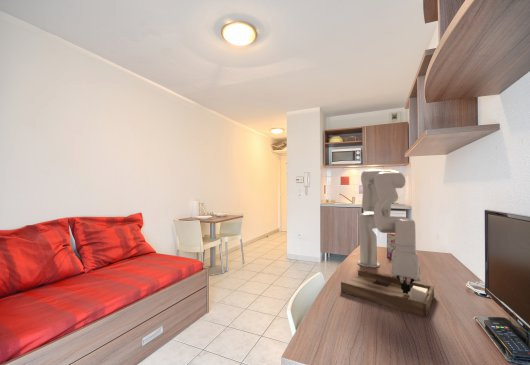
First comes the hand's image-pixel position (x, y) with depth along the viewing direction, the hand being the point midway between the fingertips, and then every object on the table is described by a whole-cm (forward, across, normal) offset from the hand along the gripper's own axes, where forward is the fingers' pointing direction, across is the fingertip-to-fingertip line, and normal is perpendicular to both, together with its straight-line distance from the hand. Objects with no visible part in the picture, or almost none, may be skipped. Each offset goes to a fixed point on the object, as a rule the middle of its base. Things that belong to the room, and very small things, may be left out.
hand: (405, 292), depth 100 cm
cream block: (+1, +5, -1) cm, 5 cm away
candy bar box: (+3, -18, +66) cm, 69 cm away
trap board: (+3, -8, 0) cm, 8 cm away
